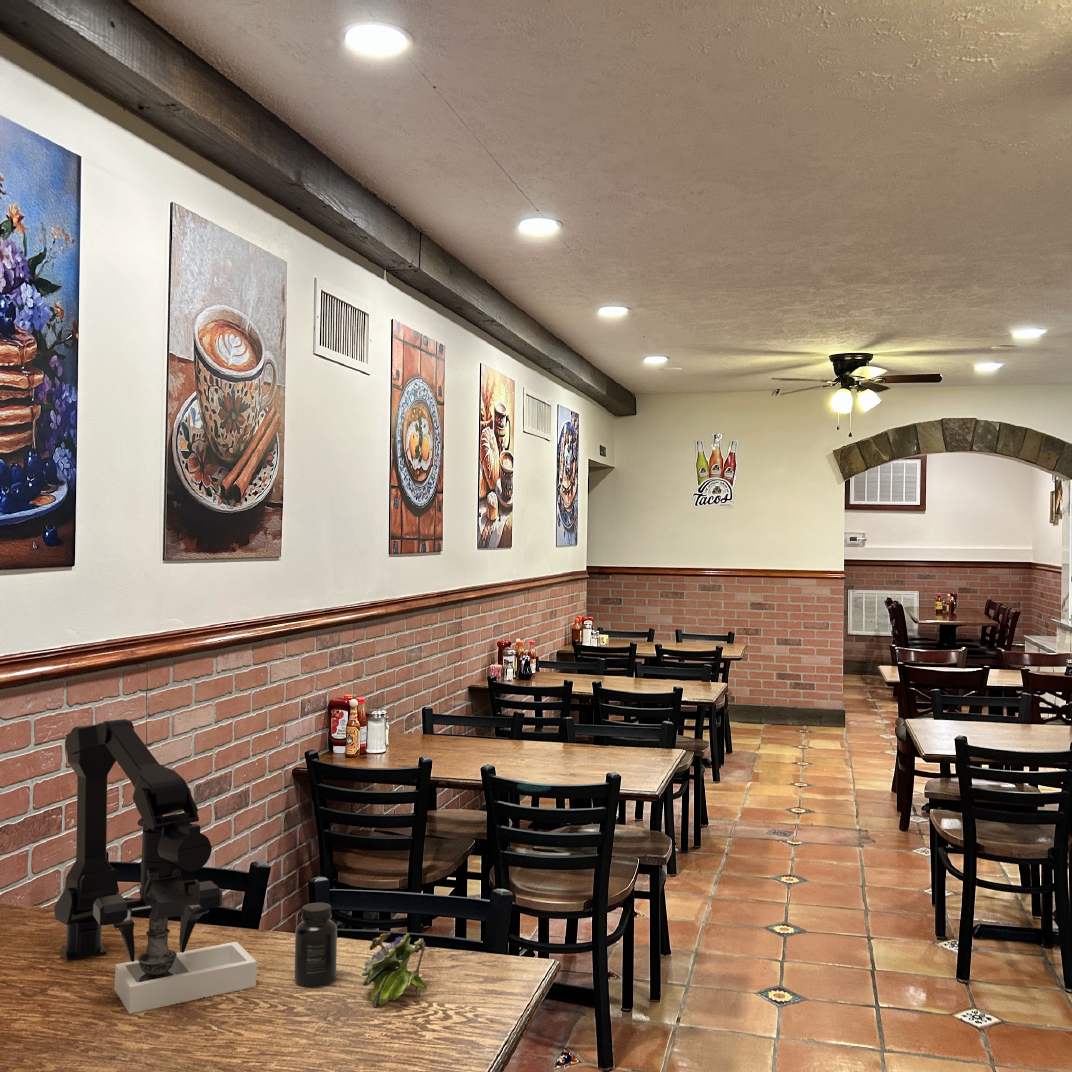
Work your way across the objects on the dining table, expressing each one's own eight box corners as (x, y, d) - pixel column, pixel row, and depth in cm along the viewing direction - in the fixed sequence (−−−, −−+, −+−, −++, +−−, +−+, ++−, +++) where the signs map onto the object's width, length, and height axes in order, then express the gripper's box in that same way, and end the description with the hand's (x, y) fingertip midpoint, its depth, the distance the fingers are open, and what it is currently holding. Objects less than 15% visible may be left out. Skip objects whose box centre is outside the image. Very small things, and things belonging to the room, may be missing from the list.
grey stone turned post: (182, 973, 165) (185, 898, 165) (164, 987, 159) (167, 910, 159) (148, 970, 165) (151, 895, 166) (129, 984, 160) (132, 907, 160)
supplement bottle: (343, 975, 171) (345, 903, 171) (322, 990, 165) (324, 915, 165) (308, 969, 173) (310, 898, 174) (285, 984, 167) (287, 910, 167)
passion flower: (377, 1021, 166) (388, 945, 173) (437, 1019, 163) (446, 942, 170) (343, 1003, 158) (356, 924, 165) (406, 1001, 154) (416, 920, 162)
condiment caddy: (114, 989, 163) (115, 964, 163) (235, 965, 174) (236, 941, 174) (129, 1013, 155) (130, 987, 155) (256, 986, 166) (256, 961, 166)
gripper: (109, 880, 151) (105, 986, 150) (234, 862, 161) (231, 961, 161) (94, 861, 160) (90, 961, 159) (213, 845, 170) (210, 939, 170)
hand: (157, 956), depth 162 cm, fingers closed on grey stone turned post, 7 cm apart
